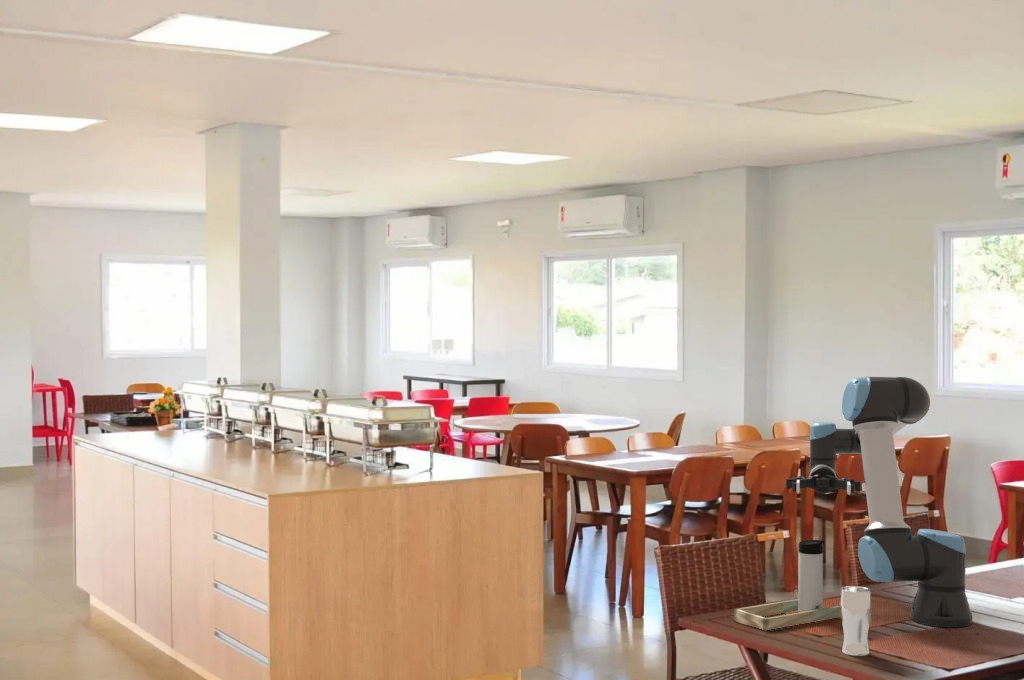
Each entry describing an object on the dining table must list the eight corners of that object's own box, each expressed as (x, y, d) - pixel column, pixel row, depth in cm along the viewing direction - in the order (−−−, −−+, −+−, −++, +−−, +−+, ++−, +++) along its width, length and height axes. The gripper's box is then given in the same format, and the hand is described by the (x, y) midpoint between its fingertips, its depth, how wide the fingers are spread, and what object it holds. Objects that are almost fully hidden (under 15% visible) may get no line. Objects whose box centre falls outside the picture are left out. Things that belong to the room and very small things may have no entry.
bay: (840, 618, 305) (840, 606, 305) (765, 631, 292) (765, 619, 292) (806, 608, 315) (806, 597, 315) (733, 620, 302) (733, 609, 302)
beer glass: (835, 648, 276) (836, 585, 276) (864, 648, 276) (864, 585, 276) (846, 657, 269) (846, 592, 269) (875, 656, 270) (876, 592, 269)
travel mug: (824, 618, 304) (824, 542, 303) (798, 617, 305) (798, 541, 305) (823, 613, 310) (823, 538, 310) (798, 611, 311) (798, 537, 311)
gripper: (867, 493, 336) (870, 504, 316) (779, 490, 343) (776, 500, 322) (867, 467, 336) (871, 476, 316) (779, 464, 342) (776, 473, 322)
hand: (823, 488), depth 319 cm, fingers open, 13 cm apart
